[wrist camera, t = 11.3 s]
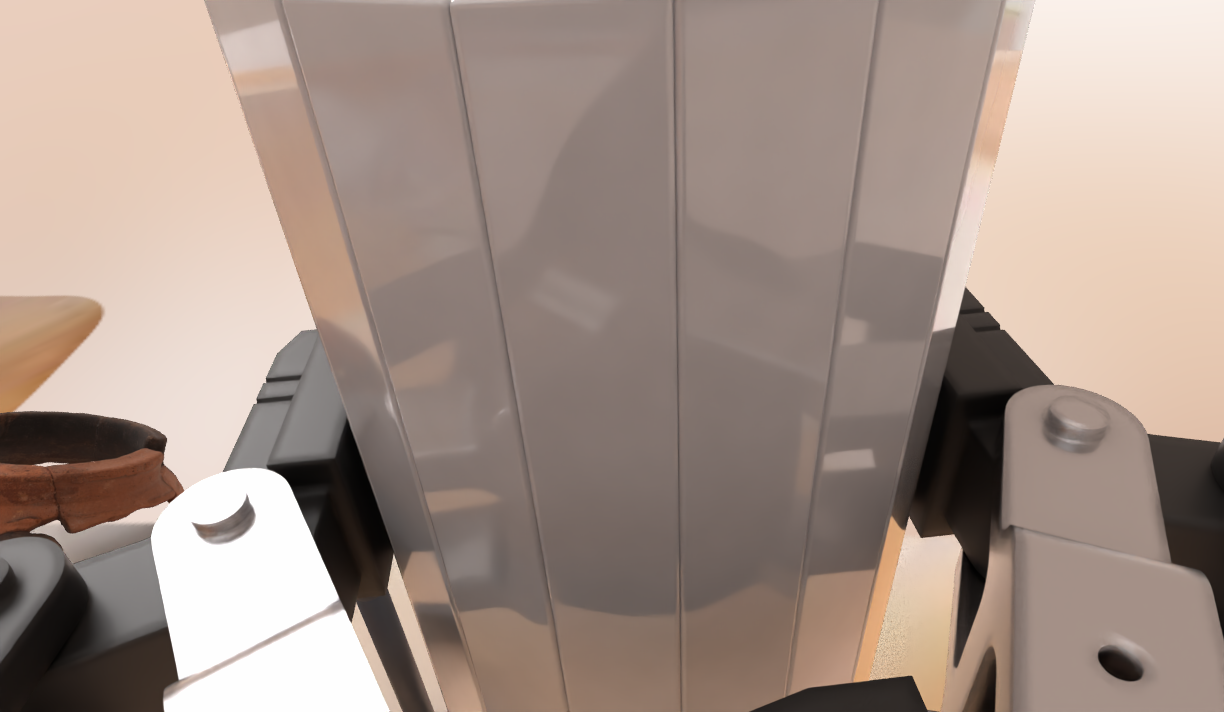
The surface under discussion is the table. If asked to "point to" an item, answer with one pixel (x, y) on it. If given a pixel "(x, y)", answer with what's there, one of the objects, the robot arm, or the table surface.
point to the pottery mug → (78, 471)
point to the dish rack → (394, 652)
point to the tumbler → (634, 314)
